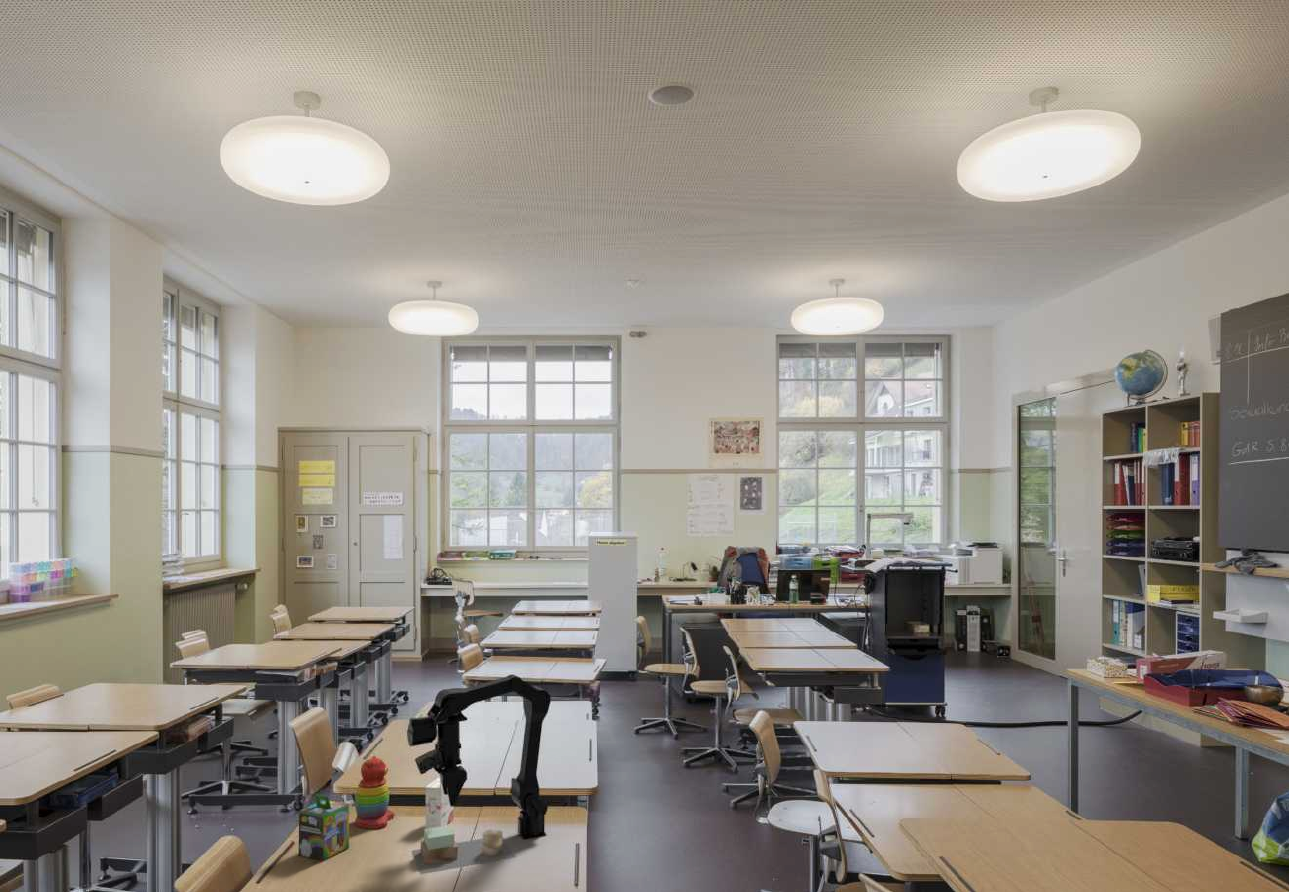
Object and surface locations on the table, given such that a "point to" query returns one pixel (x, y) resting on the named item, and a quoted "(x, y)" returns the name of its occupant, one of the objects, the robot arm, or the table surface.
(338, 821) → the chalk box
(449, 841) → the sage top block
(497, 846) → the maple cylinder
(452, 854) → the walnut base block
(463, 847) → the rubber mat
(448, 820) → the ink cartridge box
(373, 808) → the stacking bear
